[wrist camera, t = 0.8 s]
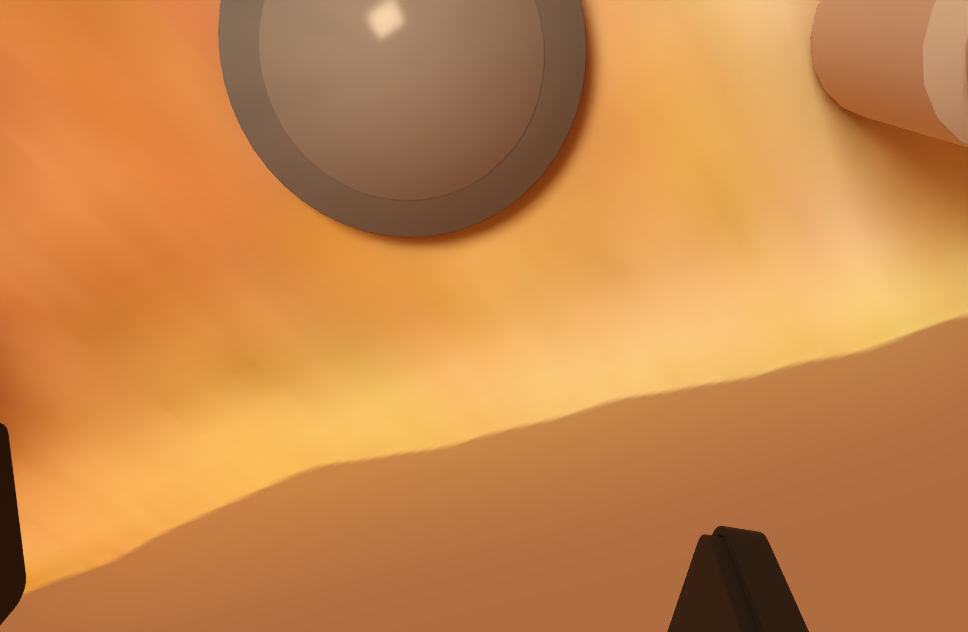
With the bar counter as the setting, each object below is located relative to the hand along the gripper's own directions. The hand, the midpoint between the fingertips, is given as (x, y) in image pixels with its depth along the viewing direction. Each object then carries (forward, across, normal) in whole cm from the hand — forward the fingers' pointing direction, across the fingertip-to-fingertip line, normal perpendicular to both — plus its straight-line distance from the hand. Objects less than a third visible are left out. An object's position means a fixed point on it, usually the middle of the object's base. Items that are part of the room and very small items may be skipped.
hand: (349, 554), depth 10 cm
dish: (+27, +4, -4) cm, 28 cm away
